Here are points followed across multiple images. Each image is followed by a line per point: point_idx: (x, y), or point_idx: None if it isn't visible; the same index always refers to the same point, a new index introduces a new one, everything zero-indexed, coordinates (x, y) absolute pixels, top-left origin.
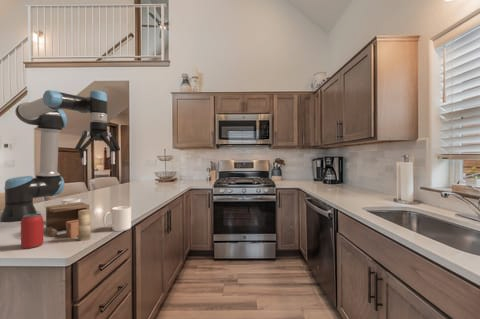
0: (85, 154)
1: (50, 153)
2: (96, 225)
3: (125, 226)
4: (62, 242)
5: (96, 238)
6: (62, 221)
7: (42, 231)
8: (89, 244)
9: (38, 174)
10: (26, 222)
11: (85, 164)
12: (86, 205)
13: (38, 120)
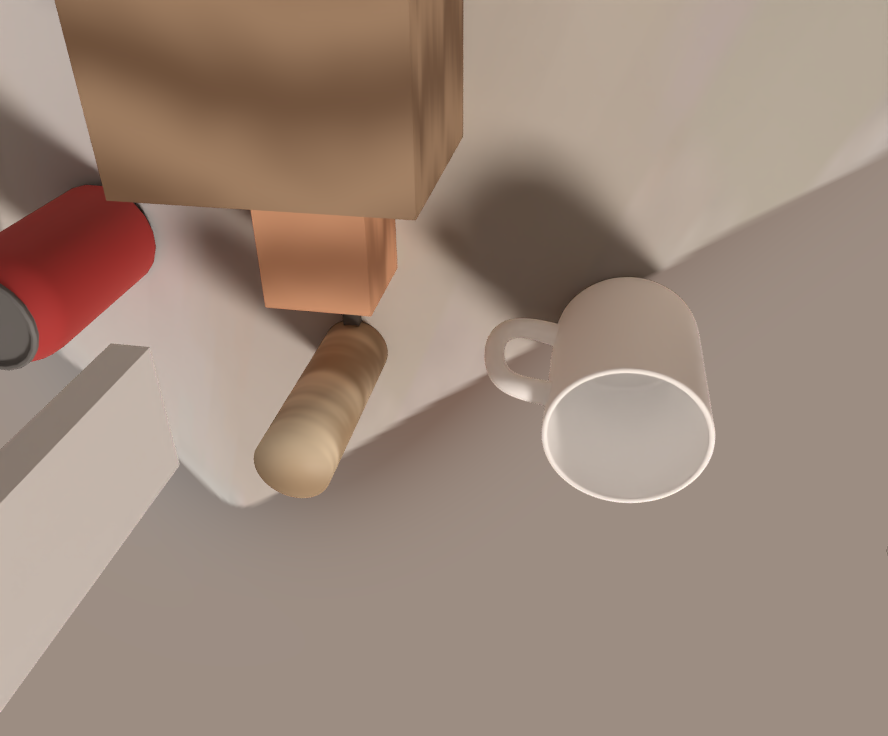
0: (12, 682)
1: None
2: (559, 50)
3: (614, 409)
4: (248, 302)
5: (410, 390)
6: None
7: (112, 298)
8: (348, 447)
9: None
10: None
11: (169, 468)
12: (387, 217)
13: None
